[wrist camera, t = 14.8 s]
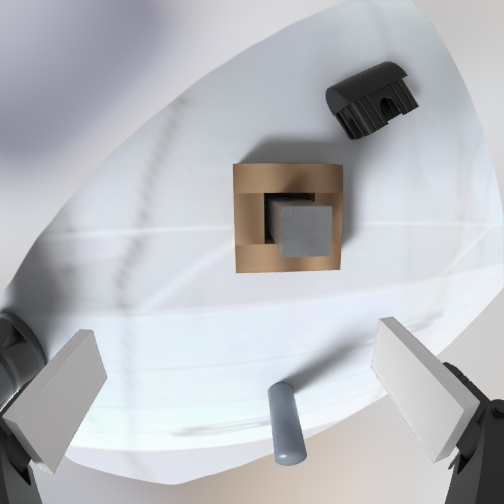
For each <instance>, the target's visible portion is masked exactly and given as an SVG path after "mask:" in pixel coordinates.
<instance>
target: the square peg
mask: <svg viewBox="0 0 504 504" xmlns="http://www.w3.org/2000/svg"><path fill="white" fill-rule="evenodd" d="M268 230H269V232H270V234H271V236H272V238H273V240H274V242H275V244H276V246H277V248H278V250H279V252H280V254H281V256H282V258H284V257H319V256H331V241H332V206H328V205H325V204H321V203H317V202H313V201H310V200H306V199H302V198H268Z"/></svg>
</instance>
